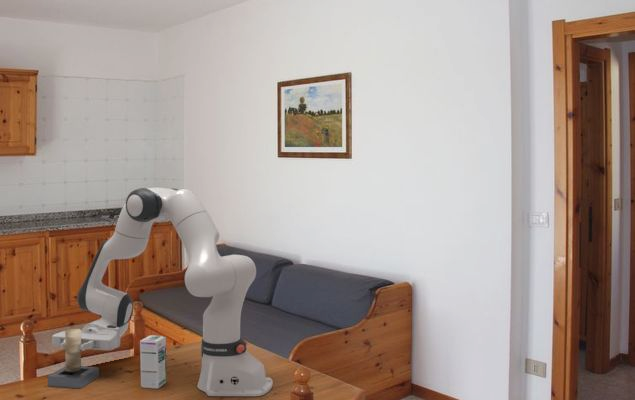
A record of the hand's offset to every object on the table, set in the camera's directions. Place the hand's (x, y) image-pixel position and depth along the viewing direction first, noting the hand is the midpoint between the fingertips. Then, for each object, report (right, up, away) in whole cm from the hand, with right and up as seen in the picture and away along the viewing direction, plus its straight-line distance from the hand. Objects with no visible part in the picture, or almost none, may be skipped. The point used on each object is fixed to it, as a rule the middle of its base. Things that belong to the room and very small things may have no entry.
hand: (71, 347), depth 190 cm
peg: (0, -7, +1) cm, 7 cm away
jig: (0, -11, +1) cm, 11 cm away
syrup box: (+25, -11, -1) cm, 28 cm away
